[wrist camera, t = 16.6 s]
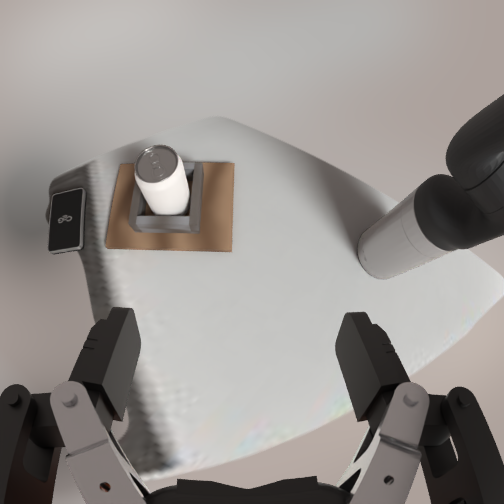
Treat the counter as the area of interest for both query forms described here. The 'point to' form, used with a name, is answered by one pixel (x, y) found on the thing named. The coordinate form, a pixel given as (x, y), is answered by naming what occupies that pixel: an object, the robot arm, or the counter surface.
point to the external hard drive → (67, 221)
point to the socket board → (175, 227)
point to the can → (163, 181)
